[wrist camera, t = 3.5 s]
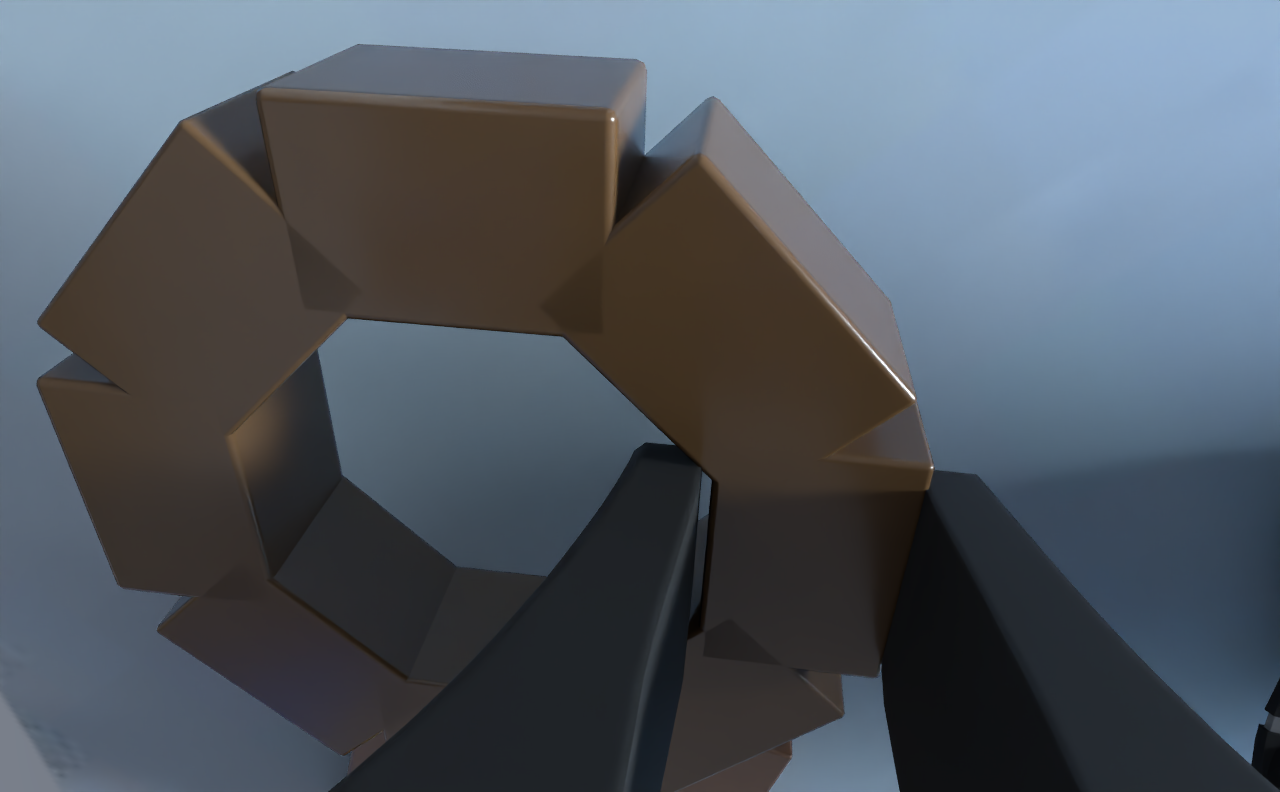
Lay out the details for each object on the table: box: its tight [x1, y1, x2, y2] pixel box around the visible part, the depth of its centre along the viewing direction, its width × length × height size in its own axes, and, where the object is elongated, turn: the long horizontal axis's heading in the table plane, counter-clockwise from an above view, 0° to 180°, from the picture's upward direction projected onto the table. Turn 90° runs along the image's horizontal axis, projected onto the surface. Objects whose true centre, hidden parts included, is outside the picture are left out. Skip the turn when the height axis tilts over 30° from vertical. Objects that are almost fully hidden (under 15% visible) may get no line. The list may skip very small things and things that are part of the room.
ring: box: [37, 44, 935, 792], centre depth 10 cm, size 9×9×2 cm
